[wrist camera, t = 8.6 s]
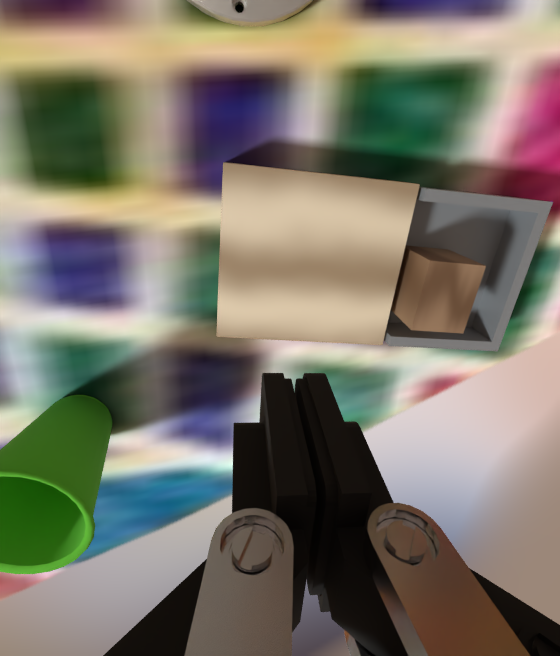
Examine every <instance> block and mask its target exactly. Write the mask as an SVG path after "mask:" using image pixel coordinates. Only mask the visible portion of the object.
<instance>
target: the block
mask: <svg viewBox="0 0 560 656" xmlns="http://www.w3.org/2000/svg"><path fill="white" fill-rule="evenodd" d="M485 268H486V266H485V265H483V264H481V263H478V262H476V261H474V260H471V259H469V258H467V257H465V256H462V255H460V254H458V253H455V252H453V251H451V250H448V249H438V248H428V247H418V246H408V245H406V246H405V250H404V254H403V259H402V263H401V267H400V271H399V276H398V280H397V284H396V289H395V293H394V297H393V301H392V306H391V311H392V312H393V313H394V314H395V315H396V316H398V317H399V318H400V319H401V320H402V321H403V322H404V323H405V324H406V325H407V326H408V327H409V328H410V329H411V330H418V331H433V332H448V333H464V330H465V327H466V324H467V321H468V318H469V315H470V312H471V309H472V306H473V303H474V300H475V297H476V294H477V291H478V288H479V286H480V283H481V280H482V277H483V274H484V271H485Z"/></svg>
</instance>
